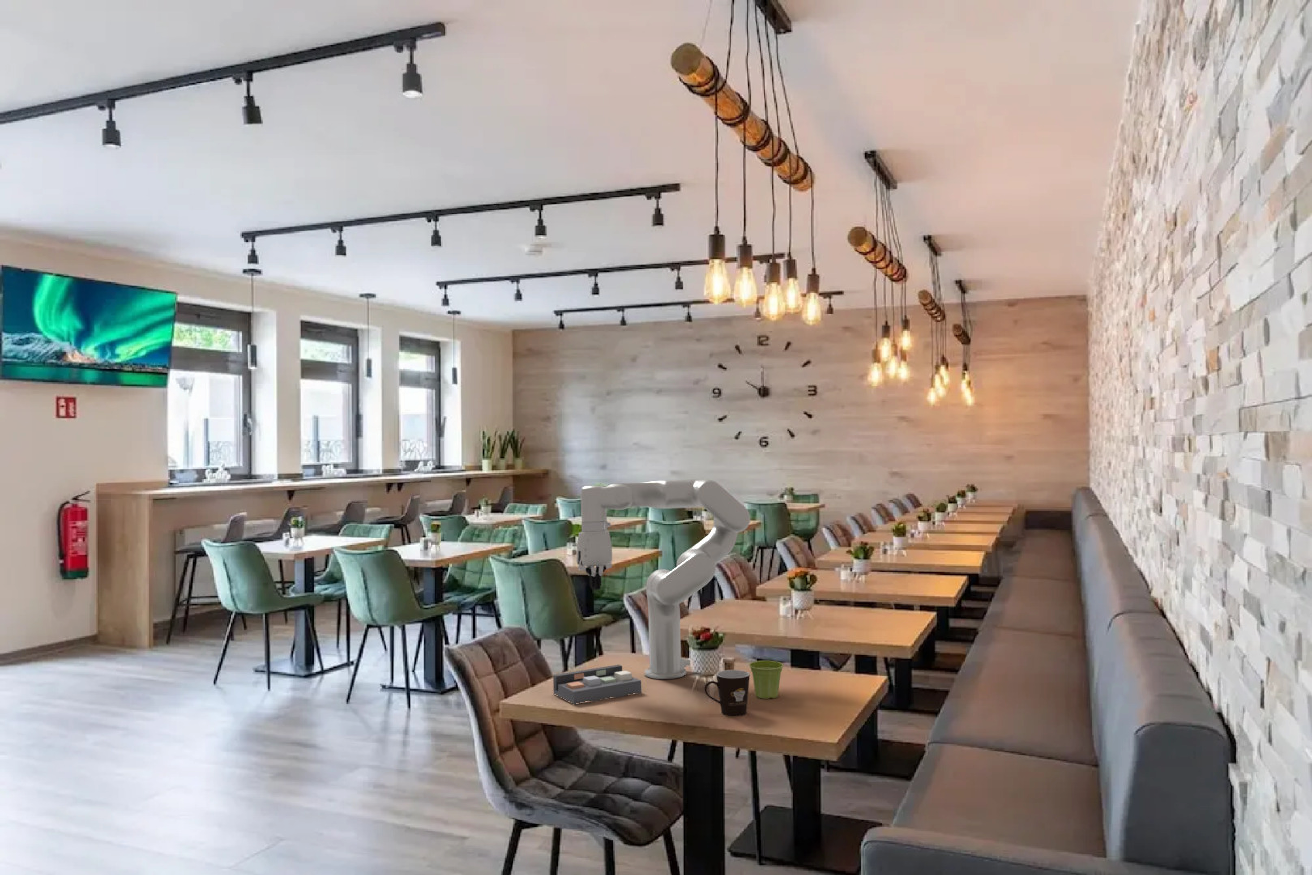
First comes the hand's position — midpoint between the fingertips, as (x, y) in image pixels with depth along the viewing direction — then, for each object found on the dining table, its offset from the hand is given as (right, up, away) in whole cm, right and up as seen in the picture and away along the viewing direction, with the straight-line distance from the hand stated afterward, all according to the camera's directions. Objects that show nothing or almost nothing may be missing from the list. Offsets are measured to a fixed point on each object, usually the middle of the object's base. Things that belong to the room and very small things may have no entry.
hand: (595, 588), depth 281 cm
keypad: (+2, -27, -15) cm, 31 cm away
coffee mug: (+37, -26, -37) cm, 58 cm away
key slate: (0, -24, -18) cm, 30 cm away
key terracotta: (-4, -25, -20) cm, 33 cm away
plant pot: (+48, -26, -22) cm, 59 cm away
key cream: (+9, -24, -13) cm, 29 cm away
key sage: (+4, -25, -15) cm, 30 cm away
